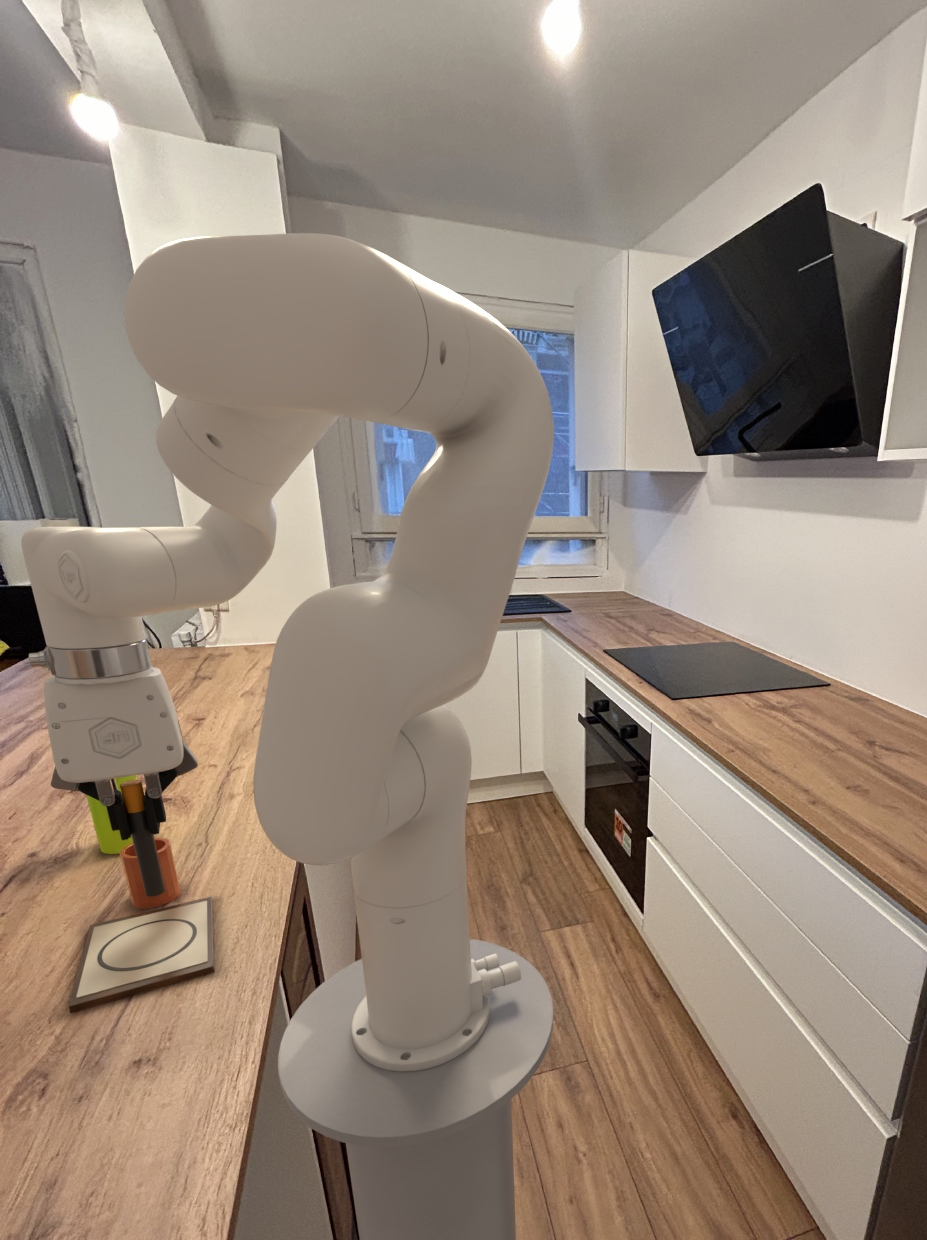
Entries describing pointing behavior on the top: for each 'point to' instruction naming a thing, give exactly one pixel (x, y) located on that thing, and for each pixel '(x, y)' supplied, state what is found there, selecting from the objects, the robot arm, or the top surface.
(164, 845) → the pen pot
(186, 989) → the top surface
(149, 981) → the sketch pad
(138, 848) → the marker
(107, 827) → the soap dispenser
